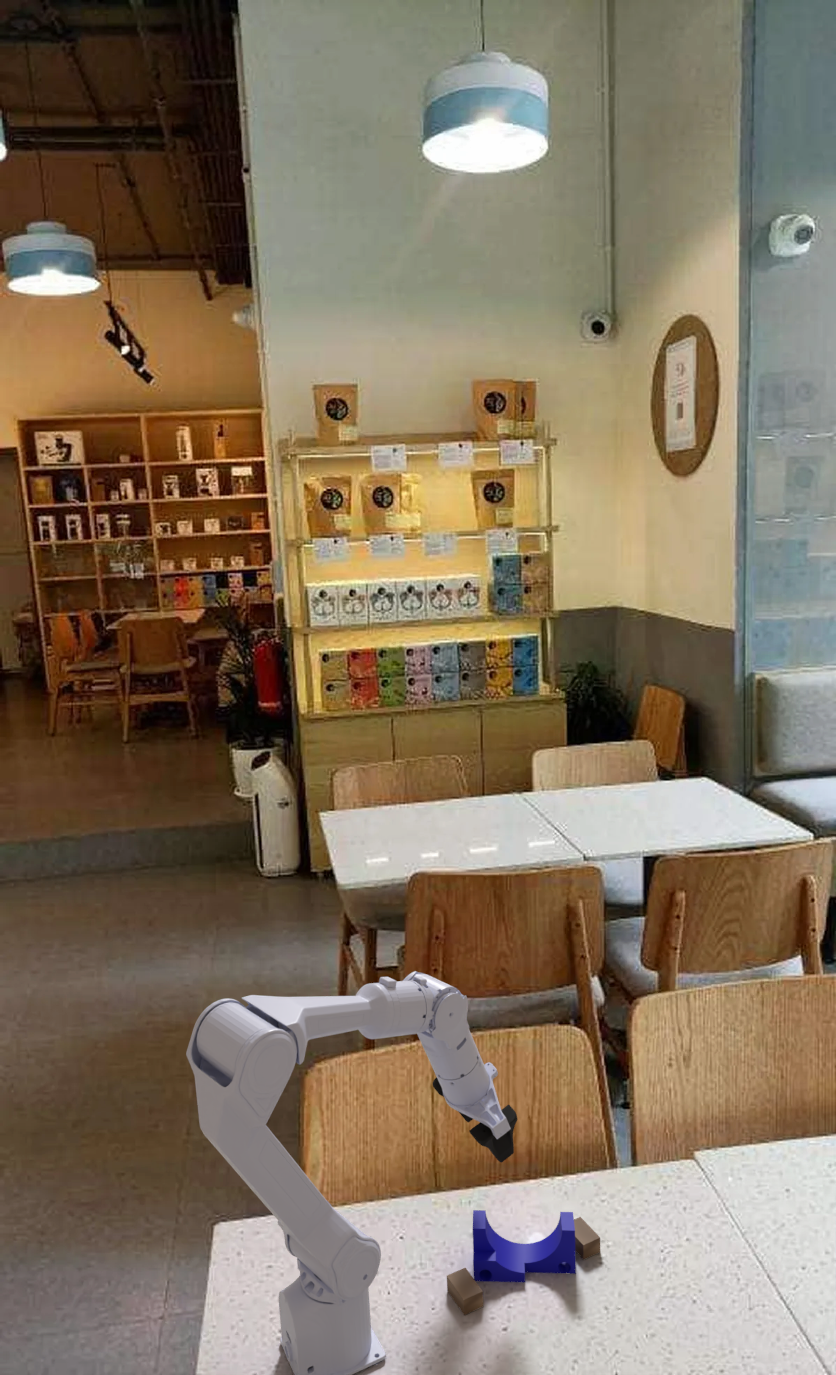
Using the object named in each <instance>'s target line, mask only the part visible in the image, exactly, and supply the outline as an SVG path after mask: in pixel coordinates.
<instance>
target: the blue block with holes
mask: <svg viewBox="0 0 836 1375" xmlns="http://www.w3.org/2000/svg"><path fill="white" fill-rule="evenodd" d="M559 1214H560V1215H559V1220H558V1222H557V1225H556V1227H555V1228H554V1230H553V1231H552V1232H551V1233H550V1234H549V1235H548V1236H546V1237H545V1238H543V1239H541V1240H539V1241H535V1242H530V1243H519V1242H513V1241H510V1240H508V1239H505V1238H504V1237H502V1236H501V1235H500V1234H499V1233H497V1232H496V1231H495V1229H494V1228H492V1225H490V1222H489V1221H488V1217H487V1211H486V1210H479V1209H477V1210H475V1209H474V1210H472V1249H473V1255H472V1263H473V1265H472V1266H473V1267H472V1268H473V1279H474V1280H475V1281H476V1282H490V1283H499V1282H500V1283H524V1282H525V1283H526V1273H528V1274H529V1273H530V1274H531V1273H533V1274H534V1273H535V1274H536V1273H537V1274H566V1273H570V1274H569V1275H571V1274H573V1275H574V1274H575V1275H576V1274H577V1272H576V1271H577V1270H576V1268H577V1267H576V1265H577V1264H576V1251H575V1227H574V1217H575V1216H574V1212H573V1211H560V1213H559Z"/></svg>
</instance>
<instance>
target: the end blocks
mask: <svg viewBox="0 0 836 1375" xmlns="http://www.w3.org/2000/svg"><path fill="white" fill-rule="evenodd" d="M574 1227H575V1253H577V1255H579V1257H580V1258H581V1259H582V1260H583V1261H584V1260H586V1259H588V1258H591V1257H593V1256H595V1255H597V1254H599V1253H601V1237H600V1236H599V1234H598V1233H596V1231H595V1230H593V1228H592V1227H591V1226H590V1225H589V1224H588V1223H587V1222H586V1221H585V1219H583V1218H582V1217H581V1216H579V1217H577V1218H575V1219H574ZM446 1291H447V1292H448V1294H449V1295H450V1297H451V1298H452V1300H453V1301H454V1303H455V1304H456V1306H457V1307H458V1309H460V1311H461V1313H462V1314H463V1316H466V1315H468V1314H471V1313H473V1312H475V1311H477V1310H479V1309H482V1308H483V1307H484V1294H483V1293H484V1291H483V1290H482V1288H481V1287H480V1285H479V1284H478V1283H477V1281H475V1280H474V1276H472V1274H471V1273H470V1272H469V1270H468V1268H466V1267H463V1268H461V1269H459V1270H457V1271H454V1272H453V1273H452V1272H451V1273H449V1274H447V1275H446Z"/></svg>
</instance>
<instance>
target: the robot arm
mask: <svg viewBox="0 0 836 1375" xmlns="http://www.w3.org/2000/svg"><path fill="white" fill-rule="evenodd" d="M241 1000H243V1001H244V1002H246V1003H247V1004H248V1005H246V1006H245V1005H244V1004H243V1003H241V1002H240V1001H239V1000H237V999H234V998H221V999H218V1000H216V1001H213V1002H212V1003H211V1004H210V1005H208V1006H207V1007H206V1008H204V1010H203V1011H202V1012H201V1013H200V1015H199V1016H198V1018H197V1019H196V1021H195V1024H194V1026H193V1029H192V1033H191V1035H190V1038H189V1039H190V1040H189V1042H188V1046H187V1049H186V1052H185V1053H186V1054H185V1055H186V1058H187V1061H188V1063H189V1065H190V1068H191V1070H192V1073H193V1076H194V1083H195V1093H196V1094H195V1095H196V1103H197V1104H196V1105H197V1112H198V1122H199V1128H200V1130H201V1131H202V1133H203V1135H204V1137H205V1138H206V1139H207V1140H208V1141H209V1142H210V1143H211V1145H212V1146H213V1147H214V1148H215V1149H216V1150H217V1152H218V1153H219V1154H220V1156H222V1157H223V1158H224V1160H225V1161H226V1162H227V1163H228V1165H230V1167H231V1168H232V1169H233V1170H234V1171H235V1172H236V1173H237V1175H238V1176H240V1178H241V1179H242V1181H243V1182H244V1183H245V1184H246V1185H247V1186H248V1188H249V1189H251V1191H252V1192H253V1194H254V1195H256V1197H257V1198H258V1199H259V1200H260V1201H261V1202H262V1203H263V1205H264V1206H265V1207H266V1208H267V1209H268V1210H269V1211H270V1213H272V1215H273V1217H274V1218H275V1219H276V1220H277V1225H278V1227H280V1229H281V1230H282V1232H283V1234H284V1245H285V1247H286V1248H285V1249H286V1250H287V1251H288V1253H289V1254H290V1255H292V1256H293V1257H296V1260H297V1261H296V1262H297V1269H298V1271H299V1276H298V1277H297V1278H296V1279H295V1280H294V1281H292V1283H290V1284H289V1285H288V1286H286V1287H285V1288H283V1289H281V1290H280V1291H279V1293H278V1308H279V1309H278V1310H279V1319H280V1320H279V1323H280V1334H281V1336H280V1337H279V1338H280V1339H279V1342H280V1344H281V1347H282V1349H283V1351H284V1355H285V1357H286V1361H288V1364H289V1366H290V1368H291V1370H292V1373H293V1375H354V1374H357V1373H358V1372H360V1371H363V1370H365V1369H368V1367H371V1366H373V1365H375V1364H377V1363H379V1362H381V1361H382V1362H383V1361H384V1360H386V1359H387V1358H386V1357H387V1352H386V1351H385V1348H384V1347H383V1345H382V1343H381V1341H380V1339H379V1337H378V1336H377V1334H376V1332H375V1331H374V1328H373V1327H372V1323H371V1322H372V1321H371V1307H370V1305H371V1304H370V1290H369V1287H370V1286H371V1284H372V1283H373V1282H374V1280H375V1278H376V1276H377V1274H378V1272H379V1268H380V1265H381V1256H382V1253H381V1252H382V1251H381V1247H380V1244H379V1242H378V1241H377V1240H376V1239H375V1237H372V1236H369V1235H368V1234H366V1233H365V1232H364V1231H362V1230H361V1229H360V1228H359V1227H358V1226H356V1225H355V1224H354V1223H352V1222H351V1220H349V1219H348V1218H347V1217H345V1216H344V1215H343V1214H342V1213H340V1212H339V1211H338V1210H337V1209H336V1208H335V1207H333V1206H332V1204H331V1203H330V1202H329V1201H328V1200H327V1198H325V1196H324V1195H323V1194H322V1193H321V1192H320V1190H319V1189H318V1188H317V1187H316V1185H315V1184H314V1183H313V1182H312V1180H311V1179H310V1178H309V1177H308V1175H307V1174H306V1173H305V1172H304V1170H302V1168H301V1167H300V1166H299V1164H298V1163H297V1162H296V1160H295V1159H294V1158H293V1157H292V1155H290V1153H289V1152H288V1151H287V1149H286V1148H285V1147H284V1145H283V1144H282V1143H281V1141H280V1140H279V1139H278V1138H277V1137H276V1136H275V1134H274V1133H273V1132H272V1130H270V1128H269V1127H268V1126H267V1123H268V1121H269V1119H270V1117H271V1116H272V1113H273V1111H274V1110H275V1107H276V1106H277V1104H278V1101H279V1100H280V1098H281V1096H282V1095H283V1092H284V1090H285V1088H286V1086H287V1084H288V1082H289V1080H290V1079H291V1076H292V1073H293V1071H294V1069H295V1065H296V1064H297V1065H299V1066H300V1065H302V1064H303V1062H304V1061H305V1056H306V1053H307V1046H308V1042H309V1041H310V1040H314V1039H318V1038H323V1037H324V1038H325V1037H329V1036H334V1035H339V1034H345V1033H348V1032H353V1031H359V1033H360V1034H361V1035H362V1036H363V1037H365V1038H366V1039H369V1040H378V1039H386V1038H387V1039H388V1038H394V1037H401V1036H411V1035H417V1037H418V1039H419V1041H420V1043H421V1046H422V1048H423V1050H424V1052H425V1055H426V1057H427V1058H428V1060H429V1063H430V1066H431V1068H432V1070H433V1072H434V1074H435V1078H434V1080H433V1081H432V1087H433V1089H434V1090H435V1091H436V1092H437V1094H438V1095H439V1096H442V1097H443V1098H444V1099H445V1103H446V1104H447V1105H448V1106H449V1107H450V1108H451V1109H452V1110H455V1111H457V1112H458V1113H459V1114H460V1115H461V1117H462V1118H463V1119H464V1120H465V1122H466V1123H470V1122H471V1121H472V1120H474V1121H476V1122H478V1123H477V1124H475V1125H474V1126H473V1127H471V1129H470V1130H469V1133H470V1135H471V1136H472V1137H473V1139H475V1141H476V1142H477V1143H478V1144H479V1145H480V1146H482V1147H484V1148H487V1149H488V1150H489V1151H490V1153H491V1154H492V1155H493V1156H494V1158H495V1159H496V1160H497V1161H498V1162H499V1163H501V1164H502V1163H503V1162H505V1161H506V1160H507V1159H508V1158H510V1156H512V1155H513V1154H514V1152H515V1148H514V1147H515V1146H514V1130H515V1126H516V1123H517V1122H518V1115H517V1112H516V1111H515V1109H514V1108H513V1107H512V1106H511V1105H510V1104H507V1105H506V1106H504V1107H503V1108H501V1105H500V1102H499V1098H498V1094H497V1090H496V1088H495V1084H494V1079H495V1078H496V1077H498V1075H499V1072H498V1069H497V1068H496V1067H495V1065H494V1064H493V1063H492V1062H490V1061H489V1062H486V1063H485V1064H484V1061H483V1059H482V1057H481V1055H480V1054H481V1053H480V1052H479V1049H478V1047H477V1044H476V1042H475V1040H474V1038H473V1034H472V1033H471V1031H470V1025H469V1022H468V1018H467V1017H468V1012H469V1011H468V1010H469V1000H468V997H467V995H464V994H462V993H461V991H460V990H459V989H458V988H457V987H455V986H453V985H450V984H448V983H446V982H444V981H442V980H439V979H438V978H436V977H434V976H431V975H430V974H426V973H424V972H418V971H416V970H414V971H412V972H411V973H409V974H407V975H406V977H405V978H403V980H400V981H397V980H396V979H394V978H391V977H389V976H380V977H379V980H378V982H373V983H372V982H371V983H370V982H369V983H366V984H364V985H362V986H361V987H360V988H359V990H358V991H357V992H356V993H355V995H331V996H330V995H327V996H326V995H324V996H278V995H277V996H276V995H275V996H274V995H257V994H250V995H247V996H243V997H241Z"/></svg>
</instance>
